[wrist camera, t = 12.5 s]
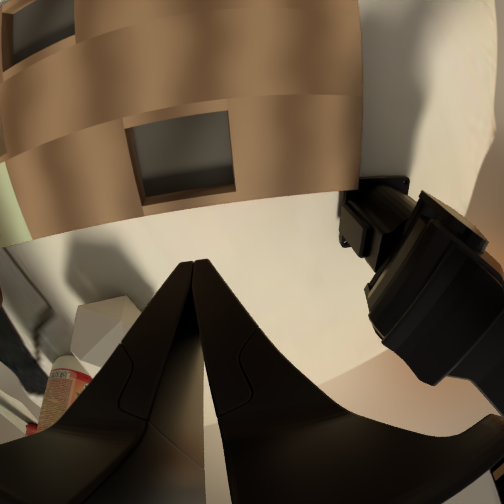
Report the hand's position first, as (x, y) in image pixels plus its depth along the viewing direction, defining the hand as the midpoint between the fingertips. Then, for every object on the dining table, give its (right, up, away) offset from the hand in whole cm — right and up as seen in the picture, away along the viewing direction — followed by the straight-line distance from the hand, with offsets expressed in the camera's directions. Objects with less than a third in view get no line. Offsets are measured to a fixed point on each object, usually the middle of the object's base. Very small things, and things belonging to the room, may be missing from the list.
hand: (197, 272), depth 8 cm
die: (-12, -6, +18) cm, 22 cm away
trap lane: (-7, +12, +6) cm, 16 cm away
